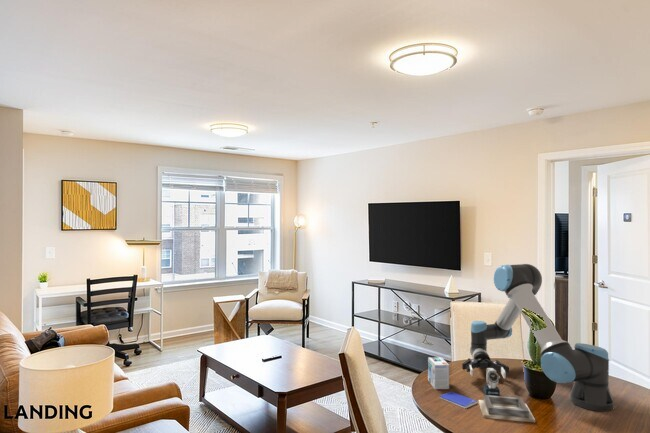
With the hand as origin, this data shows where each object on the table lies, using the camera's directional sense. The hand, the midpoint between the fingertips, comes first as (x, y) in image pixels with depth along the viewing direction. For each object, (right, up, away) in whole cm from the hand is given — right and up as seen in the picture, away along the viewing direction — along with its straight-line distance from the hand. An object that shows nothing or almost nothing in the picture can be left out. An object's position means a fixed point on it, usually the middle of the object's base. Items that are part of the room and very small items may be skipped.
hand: (488, 374), depth 189 cm
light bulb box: (-21, -7, +5) cm, 22 cm away
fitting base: (-2, -6, -23) cm, 24 cm away
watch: (-1, -7, -7) cm, 9 cm away
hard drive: (-17, -7, -12) cm, 22 cm away
